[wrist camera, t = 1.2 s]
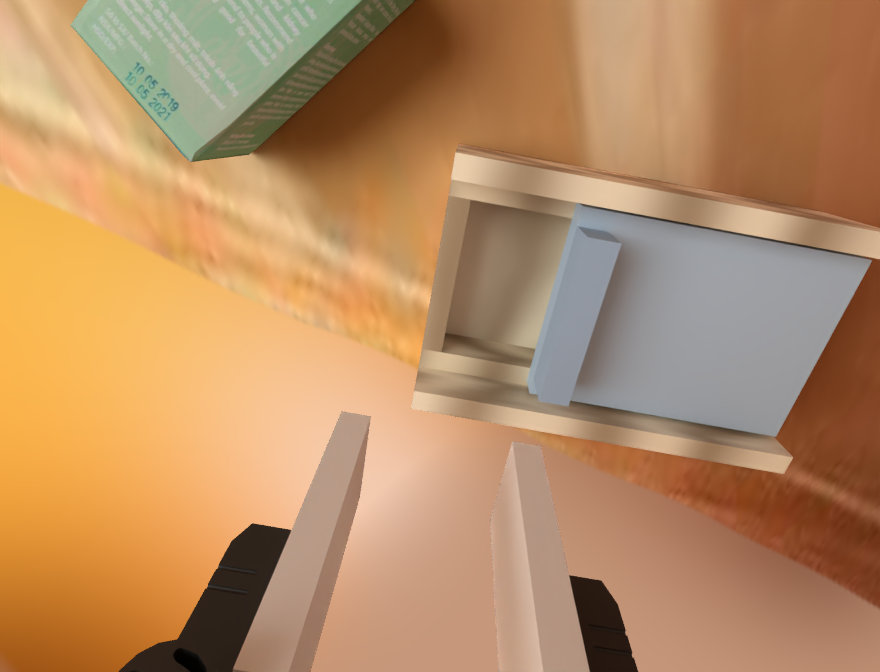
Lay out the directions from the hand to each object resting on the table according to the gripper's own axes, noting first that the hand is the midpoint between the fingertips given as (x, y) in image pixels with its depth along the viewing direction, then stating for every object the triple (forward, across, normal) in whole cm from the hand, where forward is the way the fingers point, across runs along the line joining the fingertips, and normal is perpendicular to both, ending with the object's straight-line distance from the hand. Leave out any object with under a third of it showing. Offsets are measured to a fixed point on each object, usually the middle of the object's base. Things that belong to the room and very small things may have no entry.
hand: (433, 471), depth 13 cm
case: (+21, +10, 0) cm, 23 cm away
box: (+21, -11, +12) cm, 26 cm away
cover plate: (+17, +13, 0) cm, 21 cm away
